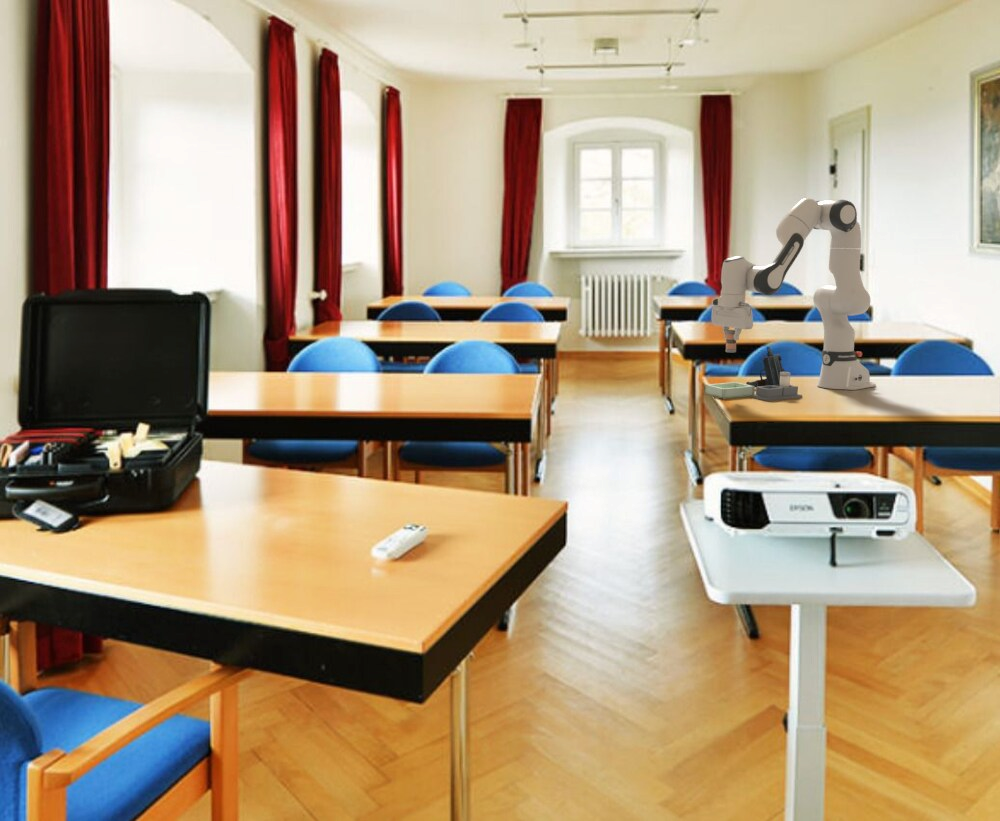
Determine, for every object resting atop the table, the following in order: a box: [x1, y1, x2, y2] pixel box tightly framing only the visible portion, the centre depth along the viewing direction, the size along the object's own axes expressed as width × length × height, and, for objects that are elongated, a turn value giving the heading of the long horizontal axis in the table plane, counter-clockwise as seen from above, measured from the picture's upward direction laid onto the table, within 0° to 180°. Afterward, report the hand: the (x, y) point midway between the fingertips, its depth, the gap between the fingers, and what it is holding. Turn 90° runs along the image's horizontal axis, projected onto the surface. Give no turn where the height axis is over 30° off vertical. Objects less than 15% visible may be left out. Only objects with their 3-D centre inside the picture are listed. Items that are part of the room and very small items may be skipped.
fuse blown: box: [725, 329, 737, 354], centre depth 374 cm, size 4×4×8 cm
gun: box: [745, 346, 786, 389], centre depth 387 cm, size 3×17×15 cm
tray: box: [704, 381, 756, 400], centre depth 377 cm, size 14×11×4 cm
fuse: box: [780, 371, 791, 387], centre depth 372 cm, size 4×4×8 cm
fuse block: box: [750, 384, 803, 402], centre depth 371 cm, size 16×9×4 cm, turn 115°
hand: (731, 339), depth 374 cm, fingers closed on fuse blown, 4 cm apart
